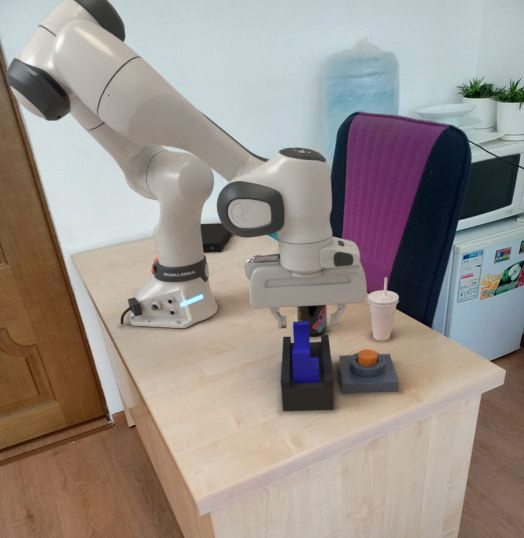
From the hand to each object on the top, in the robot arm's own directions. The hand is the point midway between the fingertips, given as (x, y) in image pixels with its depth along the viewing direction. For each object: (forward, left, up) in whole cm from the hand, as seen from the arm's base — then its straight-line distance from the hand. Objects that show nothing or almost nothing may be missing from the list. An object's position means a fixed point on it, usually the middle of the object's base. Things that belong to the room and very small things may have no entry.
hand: (308, 325), depth 90 cm
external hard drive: (-34, +91, -13) cm, 98 cm away
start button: (+11, +1, -9) cm, 14 cm away
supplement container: (+1, +21, -13) cm, 25 cm away
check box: (+11, +1, -13) cm, 17 cm away
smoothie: (+16, +17, -13) cm, 27 cm away
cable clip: (-1, -1, -8) cm, 8 cm away
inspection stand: (-1, -1, -13) cm, 13 cm away
